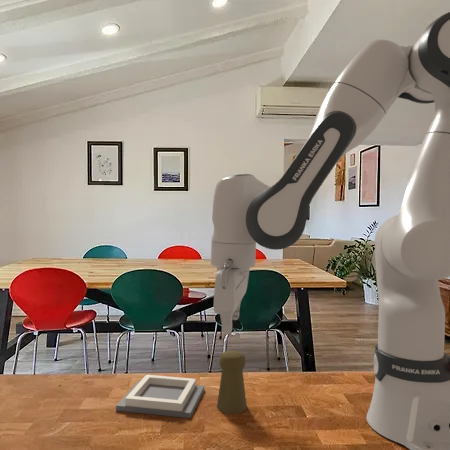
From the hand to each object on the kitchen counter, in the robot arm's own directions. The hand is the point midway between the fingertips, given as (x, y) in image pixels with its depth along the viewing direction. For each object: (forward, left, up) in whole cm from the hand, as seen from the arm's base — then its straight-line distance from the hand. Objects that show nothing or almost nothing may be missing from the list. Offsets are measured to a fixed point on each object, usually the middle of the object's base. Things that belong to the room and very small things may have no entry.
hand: (230, 325), depth 80 cm
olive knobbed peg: (0, 0, -17) cm, 17 cm away
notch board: (+14, 0, -16) cm, 22 cm away
